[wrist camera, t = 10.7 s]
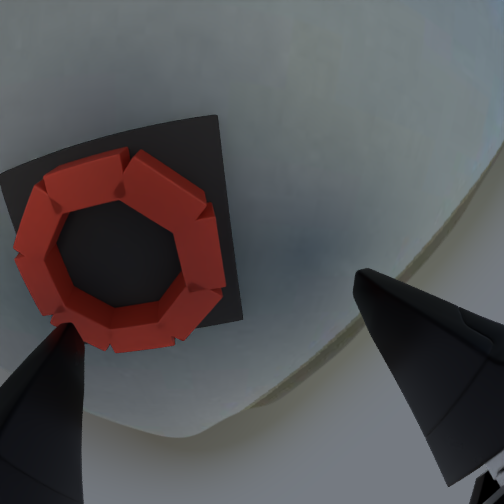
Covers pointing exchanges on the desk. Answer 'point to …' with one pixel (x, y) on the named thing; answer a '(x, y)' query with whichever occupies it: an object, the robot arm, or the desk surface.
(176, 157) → the mat
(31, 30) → the desk surface
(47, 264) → the red ring
